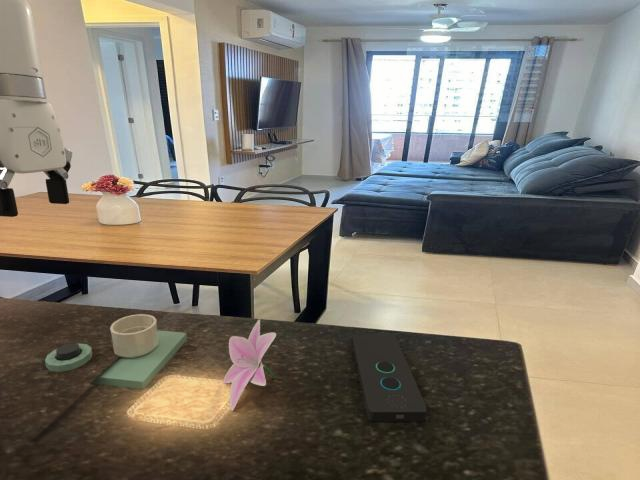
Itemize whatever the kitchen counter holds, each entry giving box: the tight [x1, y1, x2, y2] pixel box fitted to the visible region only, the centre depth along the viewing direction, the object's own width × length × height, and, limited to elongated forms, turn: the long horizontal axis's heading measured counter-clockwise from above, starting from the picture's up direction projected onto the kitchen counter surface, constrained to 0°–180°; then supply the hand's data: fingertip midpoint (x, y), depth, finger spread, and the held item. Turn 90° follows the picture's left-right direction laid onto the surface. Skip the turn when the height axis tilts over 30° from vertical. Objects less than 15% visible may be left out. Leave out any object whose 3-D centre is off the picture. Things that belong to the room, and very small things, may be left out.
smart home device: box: [351, 333, 428, 423], centre depth 60 cm, size 8×2×20 cm
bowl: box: [109, 313, 159, 358], centre depth 63 cm, size 7×7×4 cm
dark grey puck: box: [55, 342, 80, 361], centre depth 59 cm, size 3×3×1 cm
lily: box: [222, 318, 277, 412], centre depth 56 cm, size 12×12×10 cm
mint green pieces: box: [44, 329, 188, 390], centre depth 63 cm, size 16×14×3 cm
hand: (35, 209), depth 59 cm, fingers open, 9 cm apart
